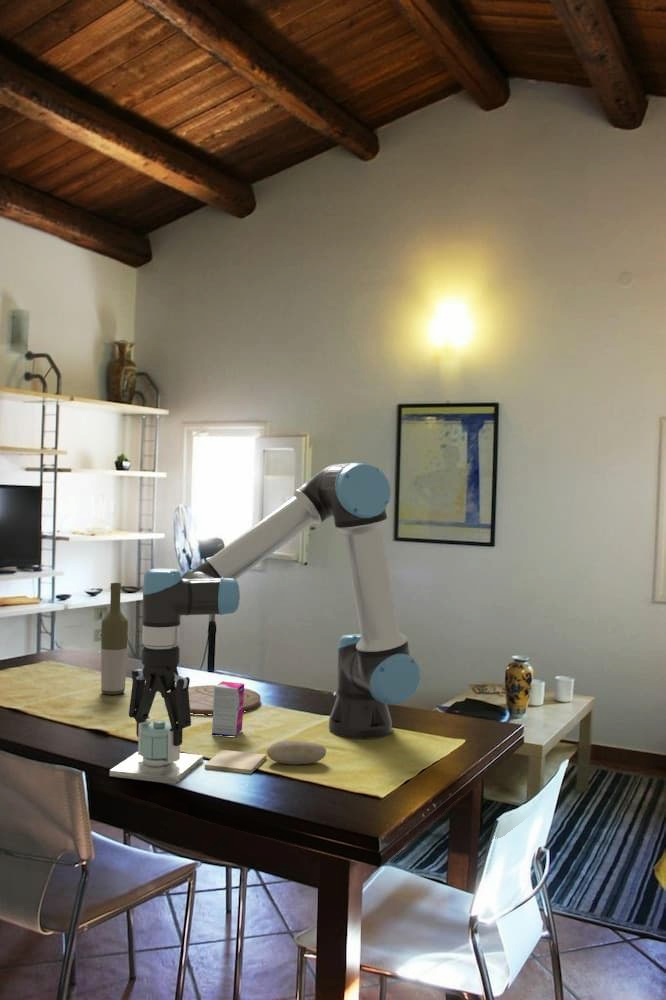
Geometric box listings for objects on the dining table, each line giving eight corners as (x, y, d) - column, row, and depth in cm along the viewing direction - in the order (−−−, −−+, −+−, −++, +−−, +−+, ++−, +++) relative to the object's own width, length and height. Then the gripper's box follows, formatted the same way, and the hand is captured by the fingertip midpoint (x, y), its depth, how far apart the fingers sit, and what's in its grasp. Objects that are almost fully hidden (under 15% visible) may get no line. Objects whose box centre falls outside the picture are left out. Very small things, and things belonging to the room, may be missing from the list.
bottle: (131, 693, 230) (134, 583, 229) (109, 697, 224) (112, 585, 224) (116, 688, 234) (119, 581, 234) (94, 692, 229) (97, 583, 228)
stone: (264, 746, 179) (317, 728, 182) (272, 776, 178) (326, 757, 180) (265, 745, 174) (320, 727, 176) (274, 776, 172) (329, 757, 175)
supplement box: (235, 738, 193) (237, 688, 193) (211, 735, 194) (212, 686, 194) (243, 730, 199) (244, 682, 198) (219, 728, 200) (220, 680, 199)
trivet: (221, 723, 206) (222, 715, 206) (144, 706, 218) (145, 699, 218) (278, 701, 227) (278, 694, 227) (205, 687, 240) (205, 680, 240)
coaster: (266, 758, 179) (266, 754, 179) (251, 773, 170) (251, 769, 170) (222, 753, 182) (222, 749, 182) (204, 768, 172) (204, 764, 172)
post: (203, 761, 176) (203, 728, 176) (175, 784, 163) (176, 748, 163) (141, 754, 180) (142, 721, 179) (109, 776, 166) (110, 741, 166)
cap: (184, 751, 172) (185, 721, 172) (159, 761, 166) (160, 730, 166) (157, 744, 176) (158, 715, 176) (132, 754, 170) (132, 723, 170)
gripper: (211, 648, 169) (209, 761, 169) (137, 636, 179) (135, 743, 180) (186, 654, 162) (184, 772, 163) (111, 641, 173) (109, 752, 173)
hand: (158, 756), depth 171 cm, fingers closed on cap, 7 cm apart
